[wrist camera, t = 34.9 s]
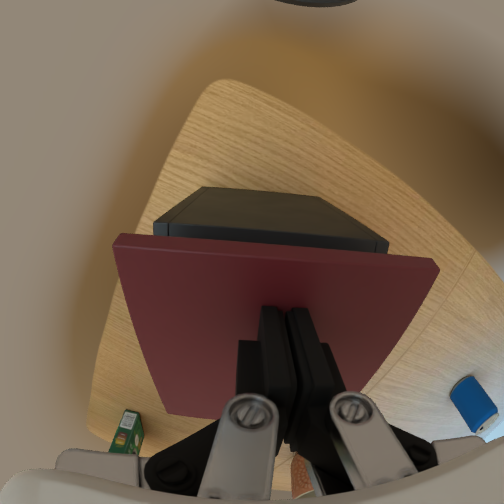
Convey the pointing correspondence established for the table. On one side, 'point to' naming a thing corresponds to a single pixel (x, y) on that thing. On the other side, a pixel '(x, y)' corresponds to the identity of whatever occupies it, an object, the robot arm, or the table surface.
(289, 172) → the table surface
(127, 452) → the coffee box
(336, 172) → the table surface
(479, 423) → the beverage can
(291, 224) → the dark gray box
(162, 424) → the table surface
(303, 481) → the planter
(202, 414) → the keepsake box lid
